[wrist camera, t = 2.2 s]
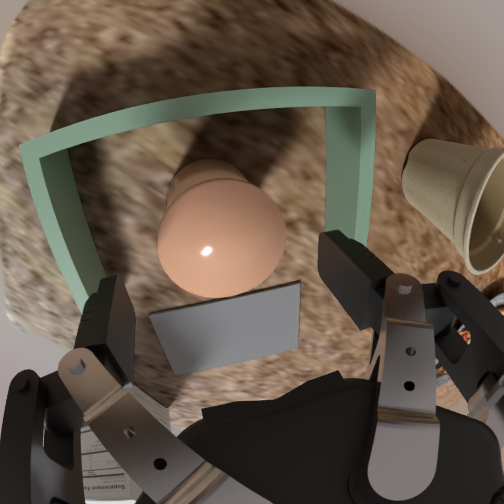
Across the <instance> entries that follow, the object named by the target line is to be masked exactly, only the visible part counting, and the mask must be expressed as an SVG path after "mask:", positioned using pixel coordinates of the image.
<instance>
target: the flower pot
mask: <svg viewBox="0 0 504 504" xmlns="http://www.w3.org/2000/svg"><path fill="white" fill-rule="evenodd" d="M402 188H403V192H404V195H405V197H406V199H407V201H408V202H409V203H410V204H411V205H412V206H413V207H415V208H416V209H417V210H418V211H419V212H421V213H422V214H423V215H424V216H425V217H426V218H427V219H428V220H430V221H431V222H432V223H433V224H434V225H435V226H436V227H437V228H438V229H439V230H440V231H441V232H442V233H443V234H444V235H446V236H447V237H448V238H449V239H450V240H451V241H452V242H453V243H454V244H455V246H456V249H457V251H458V252H459V254H460V255H461V256H462V257H463V258H464V261H465V264H466V267H467V268H468V269H469V271H470V272H472V273H473V274H476V275H480V274H484V273H486V272H488V271H489V270H491V269H492V268H493V267H494V266H495V265H497V264H498V263H499V261H500V260H501V259H502V258H503V257H504V149H501V148H491V149H487V148H482V147H476V146H471V145H466V144H460V143H455V142H449V141H442V140H436V139H425V140H423V141H421V142H419V143H418V144H416V145H415V146H414V147H413V149H412V150H411V151H410V153H409V155H408V161H407V164H406V166H405V168H404V170H403V172H402Z"/></svg>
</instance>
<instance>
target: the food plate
mask: <svg viewBox="0 0 504 504" xmlns="http://www.w3.org/2000/svg"><path fill="white" fill-rule="evenodd" d="M489 301H490V302H491V303H492V304H493V305H494V306H495V307H496V308H497V309H498V310H499V311H500V312H501V313H502V314H503V315H504V291H502V292H500V293H498V294H497V295H496V296H494V297H493V298H492V299H490V300H489ZM457 331H458V333H459V334H460V335H461V336H462V337H463V338H464V340H465V341H466V342H467V343H468V345H469V343H470V339H471V337H470V333H469V331H468V329H467V328H466V327H465V326H464V325H463V324H462V325H461V327H460V328H459V329H457ZM435 361H436V362H437V361H438V360H437V358H436V357H435ZM438 362H439V361H438ZM449 380H451V378H450V376H449V375H448V374H447V372H446V371H445V369H444V368H443V367H442V365H441V364H440V363H438V364H437V365H436V389H437V388H439V387H440V386H442V385H443V384H445V383H446V382H448V381H449Z"/></svg>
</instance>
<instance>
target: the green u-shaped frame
mask: <svg viewBox="0 0 504 504" xmlns="http://www.w3.org/2000/svg"><path fill="white" fill-rule="evenodd" d="M309 106H326V212H325V232H326V231H331V230H336V229H338V230H340V231H341V232H342V233H343V234H344V235H345V236H346V237H348V238H349V239H350V238H351V239H354V240H356V241H358V242H360V243H362V244H363V245H364V246H365V247H366V244H367V236H368V228H369V220H370V210H371V200H372V188H373V175H374V158H375V129H376V92H375V90H370V89H358V88H341V87H271V88H254V89H241V90H231V91H222V92H213V93H206V94H198V95H192V96H185V97H179V98H174V99H168V100H163V101H158V102H153V103H148V104H144V105H140V106H135V107H131V108H127V109H123V110H119V111H115V112H112V113H108V114H104V115H101V116H98V117H94V118H91V119H88V120H84V121H81V122H78V123H75V124H72V125H69V126H66V127H64V128H61V129H58V130H55V131H53V132H50V133H47V134H45V135H42V136H40V137H37V138H35V139H32V140H30V141H28V142H25V143H23V144H21V145H19V149H20V153H21V157H22V161H23V165H24V169H25V173H26V177H27V180H28V184H29V187H30V191H31V194H32V197H33V200H34V204H35V207H36V210H37V213H38V216H39V218H40V221H41V224H42V227H43V229H44V232H45V235H46V237H47V240H48V242H49V245H50V247H51V250H52V252H53V255H54V257H55V259H56V262H57V264H58V266H59V269H60V271H61V273H62V275H63V277H64V279H65V282H66V284H67V286H68V288H69V290H70V292H71V294H72V296H73V298H74V300H75V302H76V304H77V306H78V308H79V310H80V311H81V313H82V312H83V308H84V305H85V302H86V301H87V300H88V298H89V297H90V295H91V294H92V293H97V291H98V287H99V283H100V280H101V279H102V278H105V277H107V276H106V273H105V271H104V268H103V265H102V263H101V260H100V258H99V255H98V252H97V249H96V247H95V244H94V241H93V238H92V235H91V232H90V229H89V226H88V223H87V220H86V217H85V214H84V211H83V208H82V204H81V201H80V197H79V194H78V190H77V187H76V183H75V179H74V176H73V172H72V168H71V163H70V159H69V155H68V150H67V148H69V147H72V146H75V145H78V144H81V143H85V142H88V141H91V140H95V139H98V138H102V137H105V136H109V135H112V134H116V133H120V132H124V131H128V130H132V129H136V128H141V127H145V126H150V125H154V124H159V123H164V122H169V121H175V120H180V119H186V118H192V117H198V116H205V115H211V114H219V113H227V112H235V111H245V110H255V109H268V108H283V107H309ZM82 314H83V313H82Z"/></svg>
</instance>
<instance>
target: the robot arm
mask: <svg viewBox="0 0 504 504" xmlns="http://www.w3.org/2000/svg"><path fill="white" fill-rule="evenodd" d="M318 272H319V275H320V277H321V279H322V280H323V282H324V283H325V284H326V285H327V287H328V288H329V289H330V291H331V292H332V293H333V295H334V296H335V297H336V299H337V300H338V301H339V303H340V304H341V305H342V307H343V308H344V309H345V311H346V312H347V313H348V315H349V316H350V317H351V319H352V320H353V321H354V323H355V324H356V325H357V327H358V328H359V329H360V331H361V330H364V329H366V328H369V327H372V329H373V333H372V338H371V346H370V353H369V359H368V366H367V372H366V376H365V379H361V378H345V379H343V377H342V376H341V374H340V372H339V370H337V371H335V372H332V373H329V374H326V375H324V376H321V377H318V378H315V379H312V380H309V381H307V382H305V383H303V384H302V385H300V386H298V387H297V388H295V389H293V390H292V391H290V392H288V393H286V394H285V395H283V396H281V397H279V398H277V399H274V400H260V401H236V402H231V403H227V404H222V405H218V406H213V407H208V408H203V409H201V410H202V415H203V419H201V420H199V421H197V422H195V423H193V424H192V425H190V426H189V427H187V428H186V429H185V430H183V431H182V432H181V433H180V434H179V435H178V436H177V437H176V436H175V435H174V434H172V433H171V432H170V431H169V430H168V429H167V428H166V427H165V426H164V425H162V424H161V423H160V422H159V421H158V420H157V419H156V418H155V417H154V416H153V415H152V414H151V413H150V412H149V411H148V410H146V409H145V408H144V407H143V406H142V405H141V404H140V403H139V402H138V401H137V400H136V399H135V398H134V397H133V396H132V395H131V393H130V392H129V391H128V390H127V389H126V388H131V387H134V346H135V323H136V318H135V312H134V308H133V305H132V302H131V300H130V298H129V295H128V293H127V290H126V288H125V285H124V283H123V280H122V278H121V276H120V275H115V276H110V277H105V278H102V279H101V280H100V283H99V287H98V291H97V293H92V294H91V295H90V297H89V298H88V300H87V301H86V302H85V305H84V308H83V312H82V313H83V314H82V316H81V320H80V321H81V322H80V324H79V328H78V332H77V336H76V341H75V345H74V349H73V350H71V351H69V352H68V353H67V354H65V356H63V358H62V359H61V361H60V363H59V365H58V370H57V371H55V372H53V373H51V374H48V375H46V376H44V377H41V378H40V377H39V376H38V375H37V373H36V372H35V371H33V370H30V369H28V370H23V371H21V372H19V373H18V374H17V375H16V376H15V377H14V378H13V379H12V381H11V383H10V386H9V391H8V395H7V400H6V405H5V411H4V417H3V423H2V431H1V438H0V504H85V496H84V486H83V475H82V459H81V428H83V427H86V426H89V427H90V429H91V430H92V431H93V433H94V434H95V435H96V437H97V438H98V439H99V441H100V442H101V443H102V445H103V446H104V447H105V448H106V450H107V451H108V452H109V453H110V454H111V456H112V457H113V458H114V459H115V460H116V462H117V463H118V464H119V465H120V466H121V467H122V468H123V470H124V471H125V472H126V473H127V474H128V475H129V476H130V477H131V478H132V479H133V480H134V482H135V483H136V484H137V485H138V486H139V487H140V488H141V489H142V490H143V491H142V492H141V494H140V496H139V497H138V499H137V500H136V502H135V504H504V473H503V469H502V461H501V450H500V449H501V448H502V447H503V446H504V315H503V314H502V313H501V312H500V311H499V310H498V309H497V308H496V307H495V306H494V305H493V304H492V303H491V302H490V301H489V300H488V299H487V298H486V297H485V296H484V295H483V294H482V293H481V292H480V291H479V290H478V289H477V288H476V287H475V286H474V285H472V284H471V283H470V282H469V281H468V280H467V279H466V278H465V277H464V276H463V275H461V274H459V273H457V272H454V271H443V272H441V273H440V274H439V275H438V278H437V281H436V283H430V284H421V283H420V282H419V281H418V280H417V279H416V278H415V277H413V276H411V275H408V274H403V273H396V274H395V273H394V272H393V271H391V270H390V269H389V268H388V267H387V266H386V265H385V264H384V263H383V262H382V261H381V260H380V259H379V258H377V257H375V255H374V254H373V253H372V252H371V251H369V249H368V248H366V247H365V246H364V245H363V244H362V243H360V242H358V241H356V240H354V239H351V238H350V239H349V238H348V237H346V236H345V235H344V234H343V233H342V232H341V231H340V230H338V229H336V230H331V231H326V232H322V233H320V235H319V243H318ZM456 318H458V319H459V320H460V321H461V323H462V324H463V325H464V326H465V327H466V328H467V329H468V331H469V333H470V337H471V339H470V343H469V345H468V343H467V342H466V341H465V340H464V338H463V337H462V336H461V335H460V334H459V333H458V331H457V330H456V329H455V328H454V327H453V325H454V322H455V320H456ZM435 357H436V358H437V360H438V361H439V363H440V364H441V365H442V367H443V368H444V369H445V371H446V372H447V374H448V375H449V376H450V378H451V379H452V381H453V382H454V384H455V385H456V387H457V388H458V389H459V391H460V392H461V394H462V395H463V397H464V398H465V400H466V401H467V403H468V411H469V414H468V415H467V416H465V415H462V414H459V413H456V412H454V411H451V410H448V409H445V408H442V407H440V406H437V405H436V361H435ZM44 429H45V433H44V448H43V431H44Z"/></svg>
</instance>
